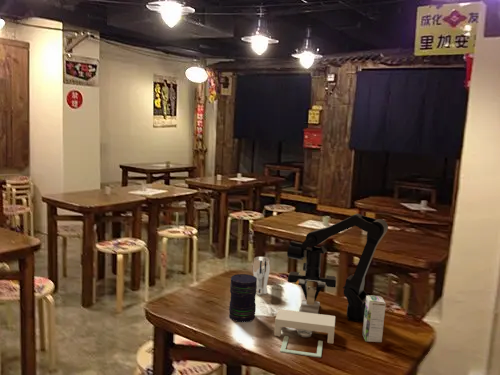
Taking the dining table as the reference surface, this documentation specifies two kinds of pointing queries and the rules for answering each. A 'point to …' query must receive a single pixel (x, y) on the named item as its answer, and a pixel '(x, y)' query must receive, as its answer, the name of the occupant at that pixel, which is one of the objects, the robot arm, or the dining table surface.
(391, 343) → the dining table surface
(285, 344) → the frame
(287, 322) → the cream bridge block
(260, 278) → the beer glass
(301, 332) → the disc
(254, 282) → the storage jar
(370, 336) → the syrup box
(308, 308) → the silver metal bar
